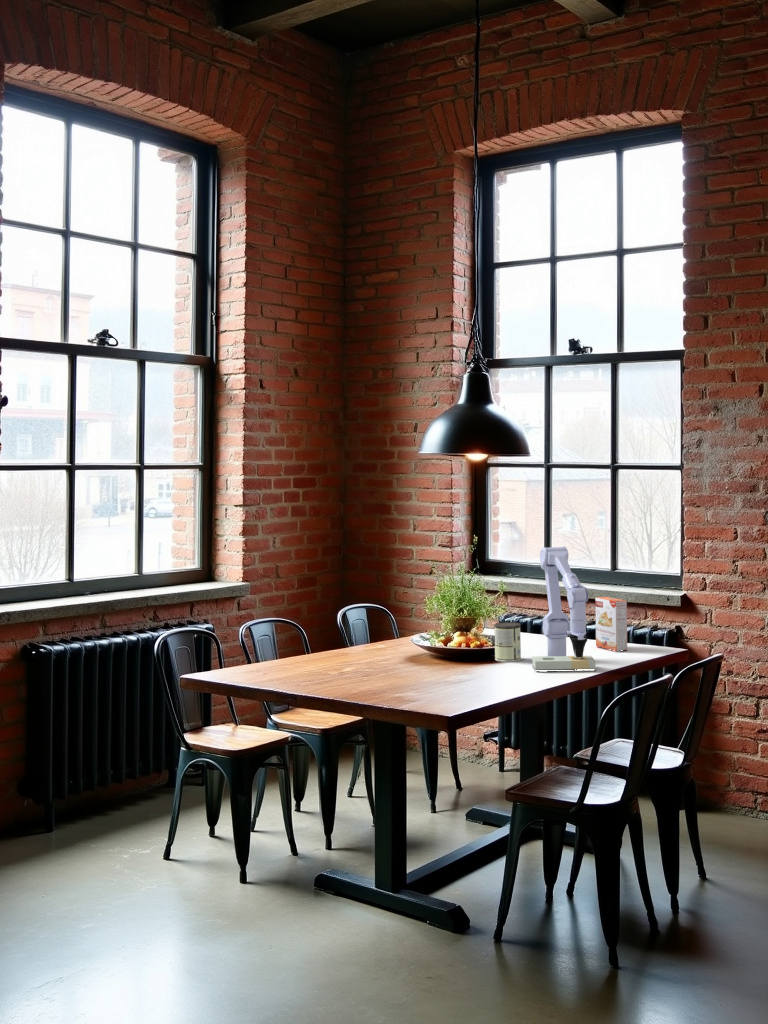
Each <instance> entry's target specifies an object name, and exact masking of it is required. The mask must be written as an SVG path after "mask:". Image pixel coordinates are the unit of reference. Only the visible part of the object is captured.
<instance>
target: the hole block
mask: <svg viewBox="0 0 768 1024" xmlns="http://www.w3.org/2000/svg"><path fill="white" fill-rule="evenodd" d="M533 667H534V669H535V670H575V669H576V670H577V669H595V670H596V659H595V658H594V657H593V656H591V655H583V659H577V660H574V655H566V656H548V655H544V656H538V655H537V656H532V668H533ZM534 669H533V670H534ZM535 670H534V671H535Z"/></svg>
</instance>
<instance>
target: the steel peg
mask: <svg viewBox="0 0 768 1024" xmlns="http://www.w3.org/2000/svg"><path fill="white" fill-rule="evenodd" d="M573 656H574V660H577V659H583V656H584V655H583V656H582V657H576V653H574V652H573Z"/></svg>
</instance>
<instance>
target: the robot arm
mask: <svg viewBox="0 0 768 1024" xmlns="http://www.w3.org/2000/svg"><path fill="white" fill-rule="evenodd" d="M539 561H540V564H539V565H540V569H542V570H543V571H544V574H545V578H544V579H545V586H546V594H547V604H548V605H547V606H548V613H547V614H545V616H544V617H543V618H542V633H543V635H544V636H545V637H547V656H567V638H568V637H569V639H570V642H571V645H572V650H573V654H574V653H576V657H582V656H584V651H585V647H586V643H587V642H588V639H587V638H585V637H586V636H585V635H586V634H587V631H586V629H587V623H586V621H587V619H586V617H587V615H586V614H587V613H586V610H587V609H586V608H587V607H586V603H587V602H588V601H589V591H588V588H587V587H586V586H584V585H582V584H581V582H580V580H579V578H578V577H577V576H578V575H577V574H576V573H573V572H572V570H571V566H570V564H569V550H568V548H567V547H566V546H559V547H557V546H556V547H555V546H554V547H542V548H540V553H539ZM558 572H559V573H560V574H561V576H562V579H561V582H562V584H563V586H564V588H565V590H566V592H567V594H566V598H567V602H568V607H569V615H567V614H566V613H565V612H563V611H562V609H563V608H562V600H561V592H560V583H559V573H558Z"/></svg>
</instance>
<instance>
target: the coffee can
mask: <svg viewBox="0 0 768 1024" xmlns="http://www.w3.org/2000/svg"><path fill="white" fill-rule="evenodd" d="M493 626H494V660H495V661H496V662H501V663H504V662H505V663H513V662H520V661H522V656H521V655H522V654H521V653H522V652H521V651H522V649H521V647H522V645H521V641H522V640H521V623H519V622H516V621H515V622H514V621H513V622H511V621H510V622H509V621H506V622H496V623H494V625H493Z"/></svg>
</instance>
